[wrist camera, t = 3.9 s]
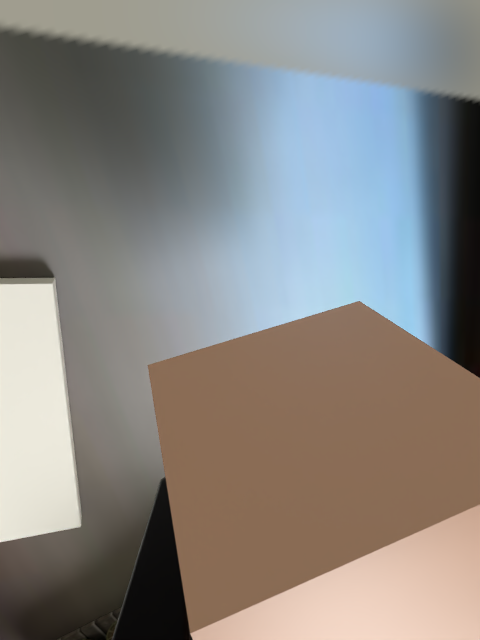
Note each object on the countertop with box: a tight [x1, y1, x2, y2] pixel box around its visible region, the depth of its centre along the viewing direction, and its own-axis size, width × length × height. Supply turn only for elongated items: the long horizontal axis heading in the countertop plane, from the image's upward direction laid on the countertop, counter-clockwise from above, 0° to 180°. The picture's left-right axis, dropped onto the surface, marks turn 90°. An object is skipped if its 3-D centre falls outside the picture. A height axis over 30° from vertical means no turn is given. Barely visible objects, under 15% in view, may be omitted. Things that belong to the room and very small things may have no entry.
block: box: [148, 301, 480, 640], centre depth 7 cm, size 5×5×5 cm
